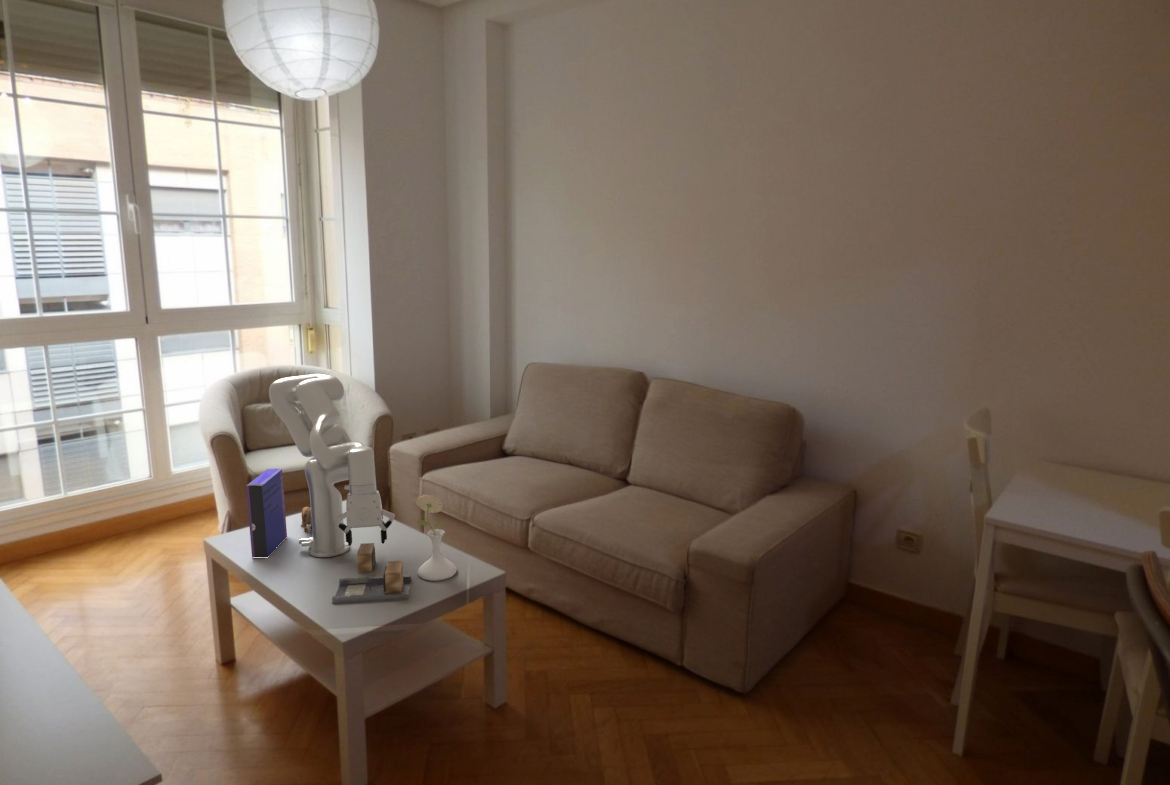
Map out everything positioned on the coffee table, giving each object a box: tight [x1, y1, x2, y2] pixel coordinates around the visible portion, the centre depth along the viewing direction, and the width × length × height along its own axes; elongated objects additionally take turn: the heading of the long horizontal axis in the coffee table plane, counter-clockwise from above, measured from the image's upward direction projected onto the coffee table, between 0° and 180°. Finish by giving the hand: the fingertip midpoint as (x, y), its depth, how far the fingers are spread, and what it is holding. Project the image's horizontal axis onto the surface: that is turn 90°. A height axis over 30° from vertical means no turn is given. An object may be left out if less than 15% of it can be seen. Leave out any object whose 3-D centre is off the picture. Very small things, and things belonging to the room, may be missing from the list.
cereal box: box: [245, 468, 288, 558], centre depth 242 cm, size 17×5×24 cm, turn 2°
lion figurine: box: [300, 506, 312, 534], centre depth 260 cm, size 15×5×9 cm, turn 36°
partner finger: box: [383, 560, 404, 593], centre depth 212 cm, size 5×8×7 cm, turn 8°
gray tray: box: [331, 574, 412, 605], centre depth 212 cm, size 20×12×2 cm, turn 98°
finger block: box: [356, 542, 377, 574], centre depth 227 cm, size 4×8×7 cm, turn 8°
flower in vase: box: [415, 494, 457, 582], centre depth 222 cm, size 13×11×25 cm
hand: (366, 543), depth 225 cm, fingers open, 9 cm apart
